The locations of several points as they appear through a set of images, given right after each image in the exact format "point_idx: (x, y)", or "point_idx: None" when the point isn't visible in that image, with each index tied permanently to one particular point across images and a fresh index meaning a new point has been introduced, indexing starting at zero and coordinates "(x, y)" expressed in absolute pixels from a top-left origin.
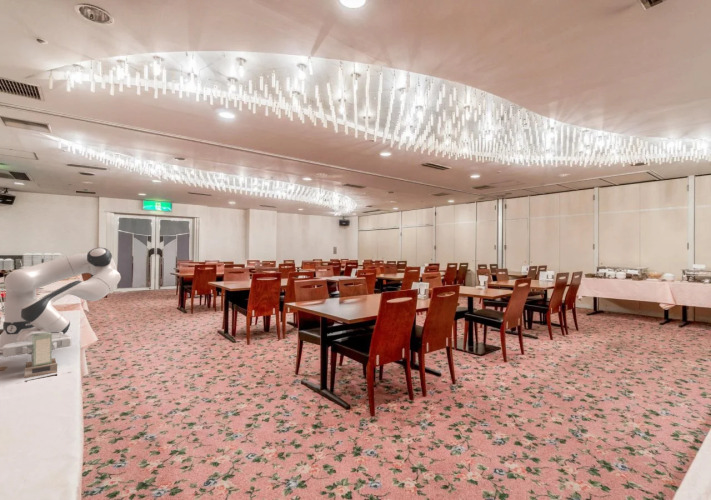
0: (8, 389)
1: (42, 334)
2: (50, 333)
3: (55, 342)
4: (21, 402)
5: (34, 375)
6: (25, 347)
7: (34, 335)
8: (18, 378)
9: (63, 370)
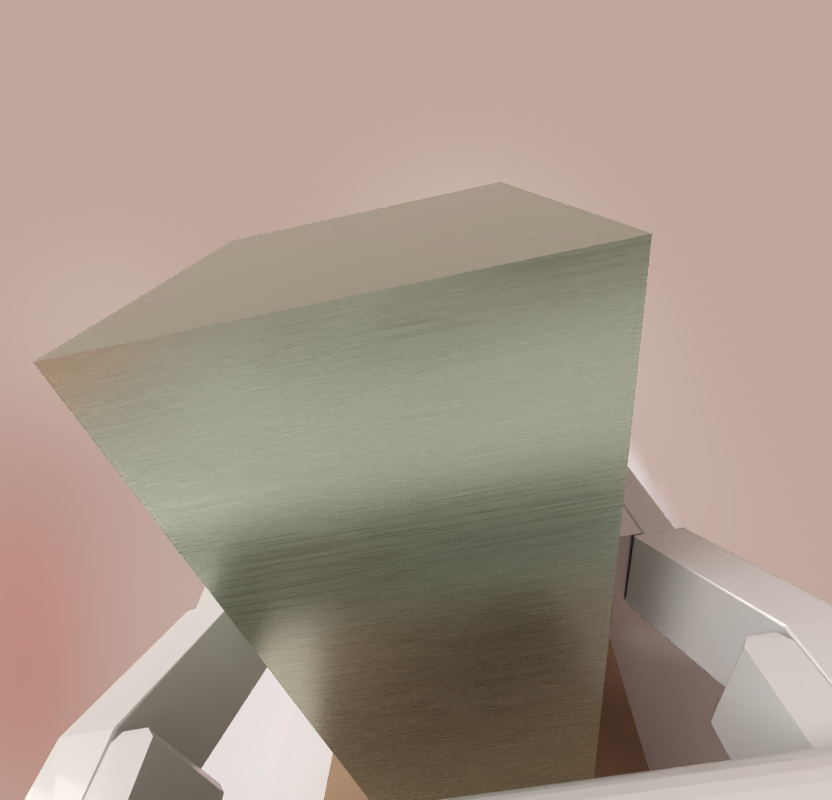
0: (628, 463)
1: (352, 230)
2: (204, 261)
3: (80, 744)
4: None
5: None
6: (757, 592)
7: (510, 199)
8: (693, 743)
9: (293, 735)
